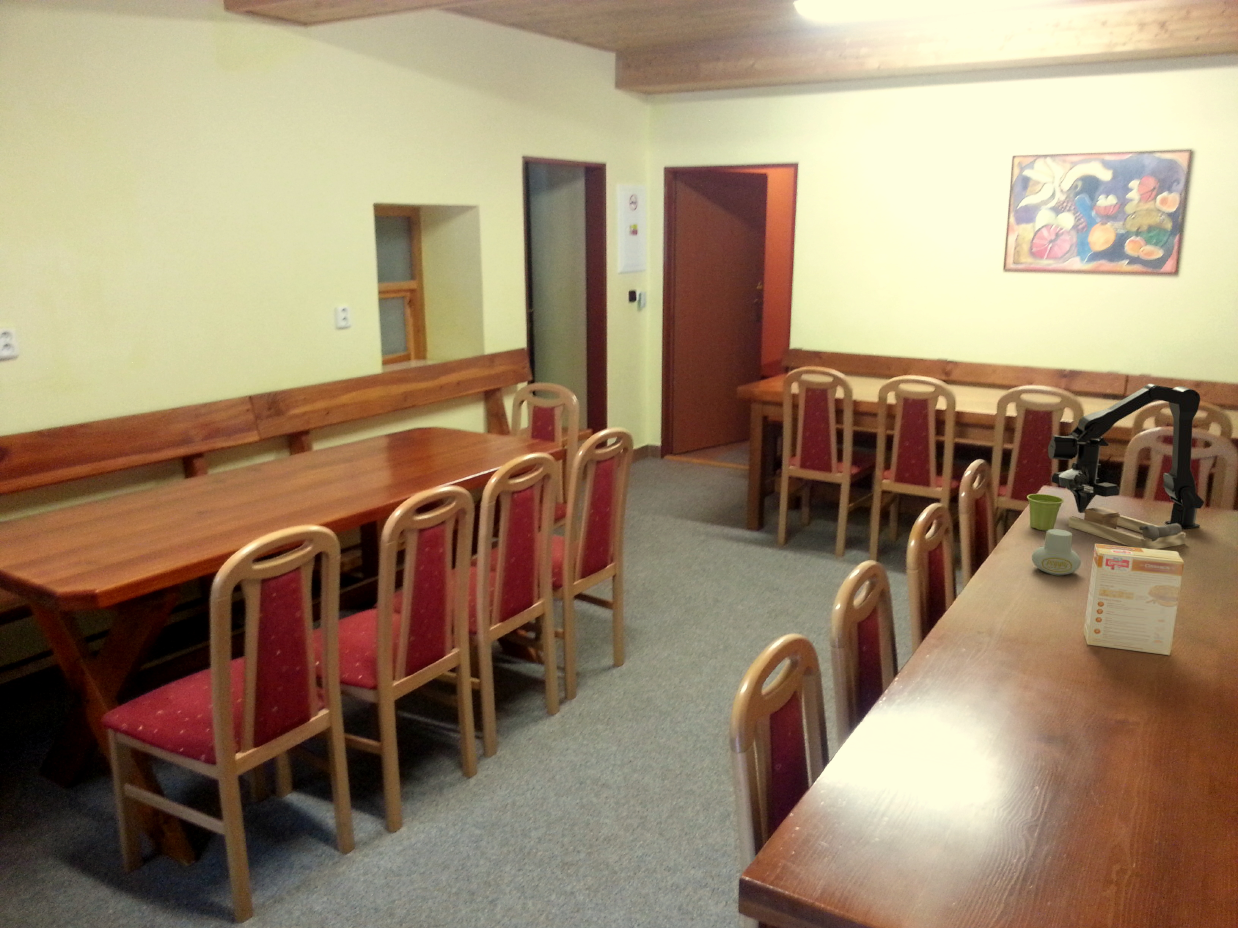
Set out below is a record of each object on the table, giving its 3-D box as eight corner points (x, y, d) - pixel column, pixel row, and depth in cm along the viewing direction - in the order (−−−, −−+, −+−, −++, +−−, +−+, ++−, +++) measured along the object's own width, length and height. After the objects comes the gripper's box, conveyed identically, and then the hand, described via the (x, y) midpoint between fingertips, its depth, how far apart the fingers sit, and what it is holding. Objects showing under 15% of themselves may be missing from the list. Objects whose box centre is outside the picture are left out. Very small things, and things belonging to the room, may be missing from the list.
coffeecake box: (1163, 642, 193) (1177, 550, 188) (1170, 656, 186) (1185, 561, 182) (1082, 631, 198) (1094, 542, 193) (1086, 645, 191) (1099, 552, 187)
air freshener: (1030, 573, 232) (1035, 534, 230) (1030, 563, 240) (1034, 525, 238) (1080, 579, 228) (1085, 540, 226) (1078, 569, 236) (1083, 530, 234)
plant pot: (1063, 533, 265) (1067, 503, 263) (1027, 531, 266) (1030, 501, 264) (1055, 524, 274) (1059, 494, 272) (1020, 521, 275) (1024, 492, 273)
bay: (1106, 520, 278) (1109, 498, 277) (1189, 545, 256) (1192, 521, 254) (1068, 526, 272) (1071, 503, 270) (1149, 552, 249) (1153, 528, 248)
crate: (1096, 523, 276) (1099, 506, 274) (1117, 529, 270) (1120, 512, 268) (1081, 525, 273) (1083, 508, 272) (1102, 532, 267) (1104, 515, 266)
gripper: (1040, 455, 278) (1034, 507, 282) (1095, 469, 262) (1088, 524, 265) (1067, 452, 283) (1061, 503, 286) (1123, 466, 266) (1116, 519, 270)
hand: (1080, 512), depth 277 cm, fingers closed
